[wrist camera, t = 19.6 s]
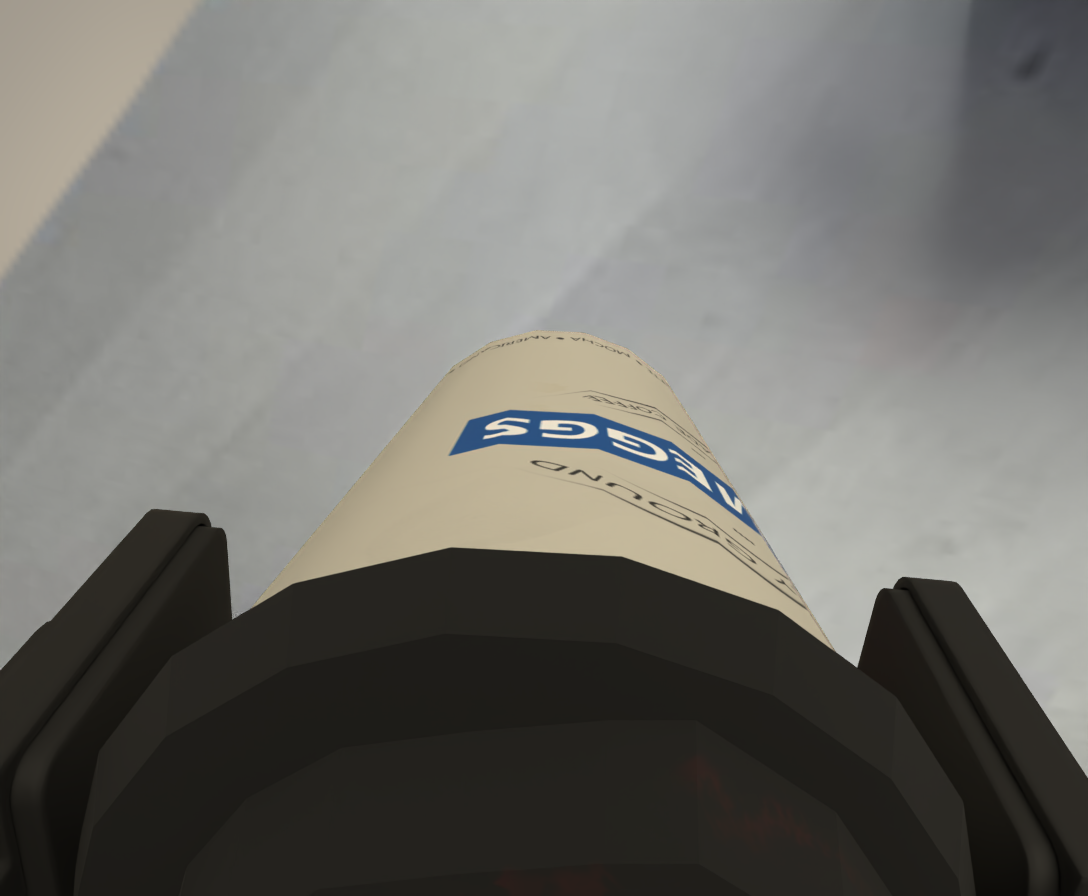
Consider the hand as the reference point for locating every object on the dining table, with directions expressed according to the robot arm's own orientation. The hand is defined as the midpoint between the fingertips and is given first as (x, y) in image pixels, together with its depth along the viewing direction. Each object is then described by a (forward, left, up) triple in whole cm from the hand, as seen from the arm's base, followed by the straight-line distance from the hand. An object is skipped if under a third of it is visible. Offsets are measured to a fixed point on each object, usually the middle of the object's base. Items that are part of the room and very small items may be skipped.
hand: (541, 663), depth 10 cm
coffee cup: (0, 0, -5) cm, 5 cm away
